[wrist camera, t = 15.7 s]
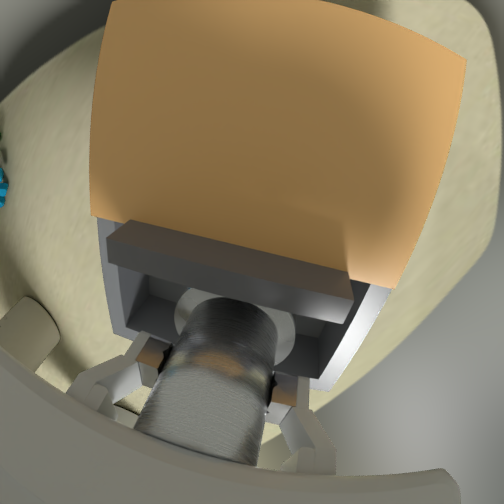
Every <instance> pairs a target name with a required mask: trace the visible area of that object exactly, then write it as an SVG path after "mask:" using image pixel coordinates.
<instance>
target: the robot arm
mask: <svg viewBox="0 0 504 504" xmlns="http://www.w3.org/2000/svg"><path fill="white" fill-rule="evenodd" d="M173 347H174V343H173V342H171V341H168V340H165V339H163V338H160V337H157V336H155V335H152V334H150V333H147V332H145V331H141V332H139V334H138V335H137V337H136V338H135V340H134V341H133V343H132V344H131V346H130V347H129V349H128V350H127V352H126V353H125V355H124V356H123V355H119V356H117V357H115V358H113V359H110V360H108V361H106V362H104V363H101V364H99V365H97V366H94V367H92V368H90V369H87V370H85V371H83V372H80V373H79V374H78V376H77V377H76V379H75V380H74V381H73V383H72V384H71V386H70V387H69V389H68V390H67V392H66V393H64V392H62V391H61V390H59V389H58V388H56V387H54V386H53V385H51V384H50V383H48V382H47V381H45V380H44V379H43V378H41V377H40V376H38V375H37V374H35V373H34V372H33V371H31V370H30V369H29V368H27V367H26V366H25V365H23V364H22V363H21V362H19V361H18V360H17V359H16V358H14V357H13V356H12V355H11V354H9V353H8V352H7V351H6V350H5V349H3V348H2V347H1V346H0V504H461V493H460V488H459V485H458V484H457V482H456V481H455V480H454V479H453V478H452V476H451V475H450V474H449V473H448V472H447V471H446V470H445V469H442V468H440V469H439V468H438V469H432V470H425V471H418V472H410V473H402V474H389V475H370V476H336V448H335V447H334V445H333V443H332V442H331V440H330V439H329V437H328V435H327V434H326V432H325V431H324V429H323V427H322V426H321V424H320V423H319V421H318V419H317V418H316V416H315V415H314V413H313V411H312V410H309V388H310V379H309V378H308V377H302V376H297V375H293V374H288V373H283V372H278V371H275V372H274V373H273V376H272V382H271V389H270V395H269V400H268V406H267V413H266V418H265V422H268V423H273V424H277V425H279V427H280V429H281V431H282V434H283V436H284V438H285V440H286V442H287V445H288V447H289V449H290V451H291V453H292V456H291V457H290V458H289V459H287V460H286V461H285V462H284V463H283V464H282V465H281V469H280V470H273V469H266V468H260V467H255V466H250V465H245V464H240V463H236V462H231V461H227V460H223V459H219V458H215V457H212V456H208V455H204V454H201V453H198V452H194V451H191V450H188V449H185V448H182V447H179V446H176V445H173V444H170V443H167V442H164V441H162V440H159V439H157V438H154V437H151V436H149V435H146V434H144V433H142V432H139V431H137V430H135V429H133V427H134V425H135V423H136V421H137V419H138V417H139V416H138V415H136V414H134V413H132V412H129V411H127V410H125V409H123V408H120V407H118V406H115V405H113V404H114V403H115V402H117V401H119V400H120V399H122V398H124V397H125V396H127V395H129V394H130V393H132V392H133V391H135V390H137V389H138V388H140V387H141V386H142V385H144V386H147V387H149V388H153V386H154V384H155V382H156V380H157V378H158V376H159V374H160V372H161V370H162V369H163V367H164V365H165V363H166V361H167V359H168V357H169V355H170V353H171V351H172V349H173Z"/></svg>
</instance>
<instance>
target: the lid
mask: <svg viewBox="0 0 504 504" xmlns="http://www.w3.org/2000/svg"><path fill="white" fill-rule="evenodd" d="M466 62H467V60H466V59H465V58H463V57H461V56H460V55H458V54H456V53H455V52H453V51H451V50H449V49H448V48H446V47H444V46H442V45H440V44H438V43H436V42H434V41H433V40H431V39H429V38H427V37H424V36H422V35H420V34H418V33H416V32H414V31H412V30H409V29H407V28H405V27H402V26H400V25H398V24H395V23H393V22H390V21H387V20H385V19H382V18H379V17H377V16H374V15H371V14H368V13H365V12H362V11H358V10H355V9H352V8H348V7H345V6H341V5H337V4H333V3H329V2H325V1H321V0H117V1H113V2H112V4H111V7H110V11H109V15H108V18H107V22H106V26H105V31H104V35H103V39H102V44H101V49H100V54H99V60H98V66H97V72H96V79H95V86H94V94H93V104H92V115H91V129H90V154H89V182H90V207H91V216H95V217H99V218H103V219H107V220H111V221H115V222H119V223H123V225H122V226H121V227H119V228H118V229H117V230H115V231H114V232H113V233H112V234H110V235H109V236H108V237H106V245H107V256H108V263H111V264H114V265H117V266H120V267H124V268H127V269H130V270H133V271H136V272H140V273H143V274H146V275H149V276H153V277H156V278H159V279H163V280H166V281H170V282H173V283H177V284H180V285H184V286H187V287H191V288H194V289H198V290H201V291H205V292H209V293H213V294H216V295H220V296H224V297H228V298H232V299H235V300H239V301H243V302H247V303H251V304H255V305H259V306H264V307H268V308H272V309H276V310H280V311H285V312H289V313H293V314H298V315H302V316H307V317H312V318H316V319H321V320H326V321H330V322H335V323H340V324H343V323H344V321H345V319H346V317H347V315H348V313H349V311H350V309H351V307H352V305H353V303H354V296H353V292H352V287H351V282H350V279H353V280H357V281H361V282H365V283H369V284H374V285H378V286H382V287H386V288H390V289H395V287H396V286H397V284H398V282H399V280H400V278H401V276H402V273H403V271H404V269H405V267H406V265H407V263H408V261H409V259H410V257H411V254H412V252H413V250H414V248H415V245H416V243H417V241H418V238H419V236H420V234H421V231H422V229H423V226H424V224H425V221H426V219H427V216H428V214H429V211H430V208H431V206H432V203H433V200H434V198H435V195H436V192H437V189H438V186H439V183H440V180H441V177H442V174H443V170H444V167H445V164H446V160H447V157H448V153H449V150H450V146H451V142H452V138H453V134H454V130H455V126H456V122H457V117H458V112H459V107H460V102H461V97H462V91H463V85H464V78H465V70H466Z"/></svg>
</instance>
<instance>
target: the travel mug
mask: <svg viewBox="0 0 504 504" xmlns="http://www.w3.org/2000/svg"><path fill="white" fill-rule="evenodd" d="M59 341H60V334H59V331H58V329H57V326H56V324H55V323H54V321H53V319H52V318H51V316H50V315H49V314H48V312H47V311H46V310H45V309H44V308H43V307H42V306H41V305H40V304H39V303H38V302H36V301H35V300H33V299H31V298H29V297H23V298H22V299H21V300H20V301H19V302H18V303H17V304H16V305H15V306H14V307H13V308H12V309H11V310H10V311H9V312H8V313H7V314H6V315H5V316H4V317H3V318H2V319H1V320H0V346H1V347H2V348H3V349H5V350H6V351H7V352H8V353H9V354H11V355H12V356H13V357H14V358H16V359H17V360H18V361H19V362H21V363H22V364H23V365H25V366H26V367H27V368H29V369H30V370H31V371H33V372H34V373H35V371H36V370H37V369H38V367H39V366H40V365H41V364H42V362H43V361H44V360H45V358H46V357H47V356H48V355H49V353H50V352H51V351H52V350H53V348H54V347H55V346H56V345H57V343H58V342H59Z"/></svg>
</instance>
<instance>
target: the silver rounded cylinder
mask: <svg viewBox="0 0 504 504" xmlns="http://www.w3.org/2000/svg"><path fill="white" fill-rule="evenodd" d="M174 322H175V326H176V329H177V332H178V334H179V337H178V339H177V341H176V343H175V345H174V347H173V349H172V351H171V353H170V355H169V357H168V359H167V361H166V363H165V365H164V367H163V369H162V370H161V372H160V374H159V376H158V378H157V380H156V382H155V384H154V386H153V388H152V390H151V392H150V394H149V396H148V398H147V400H146V402H145V404H144V407H143V409H142V411H141V413H140V415H139V417H138V419H137V421H136V423H135V425H134V427H133V429H135V430H137V431H139V432H142V433H144V434H146V435H149V436H151V437H154V438H157V439H159V440H162V441H164V442H167V443H170V444H173V445H176V446H179V447H182V448H185V449H188V450H191V451H194V452H198V453H201V454H204V455H208V456H212V457H215V458H219V459H223V460H227V461H231V462H236V463H240V464H245V465H250V466H255V467H257V461H258V457H259V451H260V446H261V441H262V435H263V430H264V424H265V418H266V413H267V406H268V400H269V395H270V389H271V382H272V376H273V370H274V366H275V365H277V364H279V363H280V362H282V361H283V360H284V359H285V358H286V357H287V356H288V355H289V354H290V352H291V350H292V348H293V346H294V342H295V333H296V314H293V313H289V312H285V311H280V310H276V309H272V308H268V307H264V306H259V305H255V304H251V303H247V302H243V301H239V300H235V299H232V298H228V297H224V296H220V295H216V294H213V293H209V292H205V291H201V290H198V289H194V288H191V287H187V288H186V290H185V291H184V293H183V295H182V296H181V298H180V299H179V301H178V303H177V305H176V308H175V313H174Z"/></svg>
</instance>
